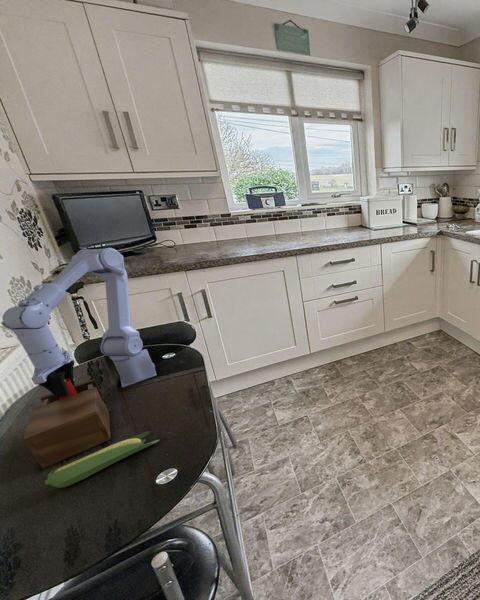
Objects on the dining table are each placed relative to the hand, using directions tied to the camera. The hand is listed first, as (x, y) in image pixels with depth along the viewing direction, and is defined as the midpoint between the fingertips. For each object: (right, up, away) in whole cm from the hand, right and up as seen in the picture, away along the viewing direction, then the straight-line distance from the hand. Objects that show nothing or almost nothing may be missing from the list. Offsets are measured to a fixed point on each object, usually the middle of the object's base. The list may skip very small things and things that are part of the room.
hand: (66, 391), depth 90 cm
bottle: (0, -1, +1) cm, 1 cm away
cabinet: (+8, -11, -4) cm, 14 cm away
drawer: (0, -7, +3) cm, 8 cm away
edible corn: (+24, -13, -14) cm, 31 cm away
